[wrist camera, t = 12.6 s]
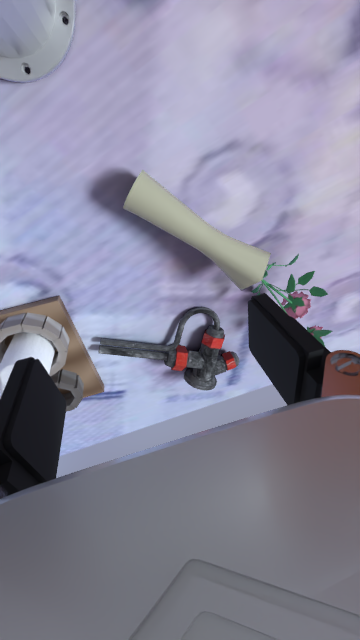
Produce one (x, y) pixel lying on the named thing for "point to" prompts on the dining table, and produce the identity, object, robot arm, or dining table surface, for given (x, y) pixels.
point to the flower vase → (217, 245)
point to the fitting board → (70, 354)
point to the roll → (26, 353)
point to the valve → (185, 353)
